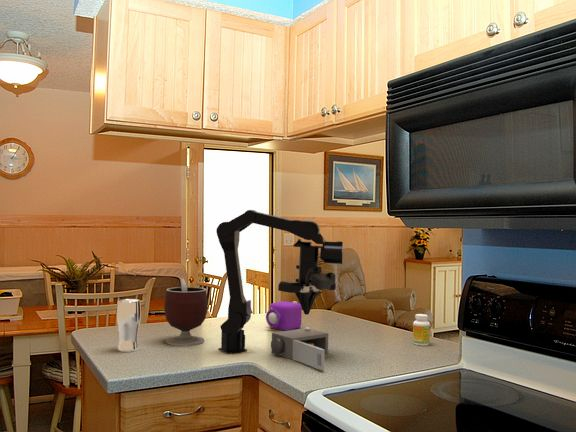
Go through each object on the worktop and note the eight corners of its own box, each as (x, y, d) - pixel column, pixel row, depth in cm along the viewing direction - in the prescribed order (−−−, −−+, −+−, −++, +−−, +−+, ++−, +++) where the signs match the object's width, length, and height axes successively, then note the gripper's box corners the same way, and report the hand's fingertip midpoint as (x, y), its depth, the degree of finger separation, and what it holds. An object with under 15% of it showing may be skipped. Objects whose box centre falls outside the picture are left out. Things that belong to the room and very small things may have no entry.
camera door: (290, 359, 161) (291, 340, 161) (295, 358, 162) (295, 339, 162) (319, 370, 149) (319, 350, 149) (324, 369, 150) (324, 349, 150)
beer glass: (130, 353, 166) (131, 302, 166) (111, 351, 168) (112, 301, 168) (144, 348, 172) (145, 299, 172) (125, 346, 174) (126, 298, 175)
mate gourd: (210, 345, 179) (212, 282, 179) (166, 347, 174) (168, 283, 174) (201, 335, 193) (202, 277, 194) (160, 337, 189) (161, 278, 189)
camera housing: (286, 360, 161) (286, 336, 161) (266, 353, 169) (266, 330, 169) (327, 353, 171) (328, 330, 171) (307, 346, 179) (307, 325, 179)
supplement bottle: (424, 346, 183) (424, 316, 183) (409, 343, 186) (410, 314, 186) (432, 344, 187) (432, 315, 187) (418, 341, 190) (418, 312, 190)
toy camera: (260, 330, 204) (261, 303, 204) (278, 324, 216) (279, 298, 216) (287, 333, 199) (287, 305, 199) (303, 327, 211) (304, 301, 211)
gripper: (303, 265, 156) (301, 321, 156) (349, 264, 168) (347, 316, 168) (278, 262, 165) (276, 315, 165) (323, 261, 177) (321, 310, 177)
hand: (306, 314), depth 168 cm, fingers closed
